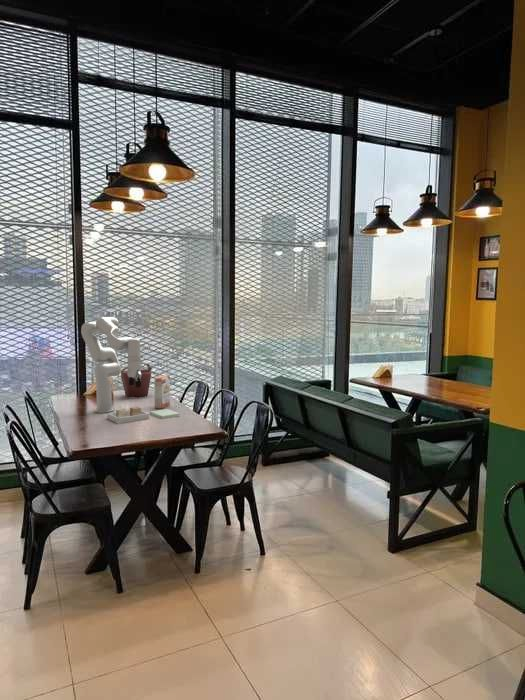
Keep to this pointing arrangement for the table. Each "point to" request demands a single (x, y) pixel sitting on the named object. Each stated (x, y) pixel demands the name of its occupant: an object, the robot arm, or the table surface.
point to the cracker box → (162, 391)
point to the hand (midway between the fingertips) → (134, 386)
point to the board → (164, 413)
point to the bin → (128, 417)
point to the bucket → (131, 389)
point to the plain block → (121, 413)
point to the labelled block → (135, 411)
